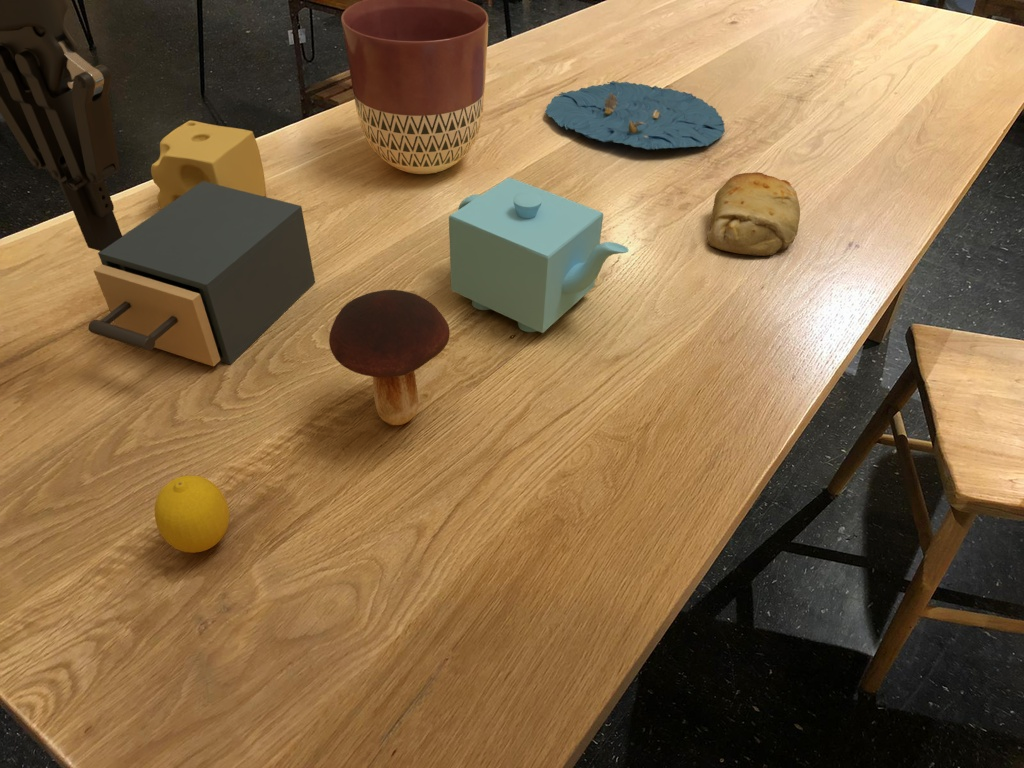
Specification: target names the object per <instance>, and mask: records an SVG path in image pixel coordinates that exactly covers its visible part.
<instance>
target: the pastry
mask: <svg viewBox="0 0 1024 768" xmlns="http://www.w3.org/2000/svg"><path fill="white" fill-rule="evenodd" d="M711 210H712V211H711V215H712V216H711V222H710V231H709V232H707V242H706V243H707V244H708V245H709V246H710V247H713V248H715V249H718V250H720V251H724V252H729V253H734V254H738V255H739V254H740V255H747V256H749V255H750V256H756V257H757V256H758V257H760V256H764V257H765V256H773V255H775V254H776V253H780V251H782V250H785V249H786V248H788V247H789V246H790V245H792V244H793V243H794V242H795V239H796V237H797V235H798V231H799V224H800V219H801V206H800V200H799V197H798V194H797V191H796V190H795V188H794V187H793V186H792V183H790V181H788V180H785V179H779V178H777V177H776V176H771V175H767V174H765V173H763V172H758V171H756V172H742V173H738V174H735V175H733V176H731V177H730V178H729V179H728V180H727V181H726V182H724V184H723V185H722V186H721V187H720V188H719V189H718V190H717V191H716V193H715V195H714V201H713V206H712V209H711Z"/></svg>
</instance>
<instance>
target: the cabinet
mask: <svg viewBox="0 0 1024 768" xmlns="http://www.w3.org/2000/svg"><path fill="white" fill-rule="evenodd" d="M97 254H98V258H99V259H100V262H101V264H102V265H106V266H109V267H112V268H116V269H119V270H120V267H119V265H122V266H125V267H129V268H132V269H135V270H139V271H142V272H146V273H149V274H152V275H156V276H159V277H162V278H166V279H169V280H173V281H176V282H179V283H183V284H186V285H189V286H193V287H196V288H200V289H202V291H203V294H204V297H205V301H206V304H207V307H208V310H209V314H210V317H211V320H212V323H213V327H214V330H215V333H216V336H217V340H218V343H219V346H220V348H219V347H217V350H218V353H219V356H220V359H221V360H220V361H219V363H220V362H221V363H224V364H226V365H229V366H231V365H232V364H233V363H234V362H235V361H236V360H237V359H238V358H239V357H241V356H242V355H243V353H244V352H245V351H247V349H249V348H250V347H251V346H252V345H253V344H254V343H255V342H256V341H257V340H258V339H259V338H260V337H261V336H262V335H263V334H264V333H266V331H267V330H268V329H269V328H270V327H271V326H272V325H273V324H274V323H275V322H277V320H279V318H281V317H282V316H283V314H285V313H286V312H287V311H288V309H290V308H291V307H293V305H294V304H295V303H296V302H297V301H298V300H299V299H300V298H301V297H302V296H304V294H305V293H306V292H307V291H308V290H309V289H311V287H312V286H313V285H314V284H316V279H315V274H314V268H313V263H312V258H311V252H310V246H309V241H308V236H307V231H306V224H305V219H304V213H303V207H302V205H300V204H295V203H292V202H288V201H283V200H279V199H275V198H272V197H267V196H265V197H264V196H260V195H256V194H252V193H248V192H244V191H240V190H236V189H232V188H228V187H224V186H220V185H216V184H212V183H208V182H204V181H202V182H201V183H199V184H198V185H196V186H195V187H193V188H192V189H190V190H189V191H188V192H186V193H185V194H183V195H182V196H180V197H179V198H177V199H176V200H174V201H173V202H171V203H170V204H169V205H167V206H166V207H164V208H163V209H161V210H160V209H159V210H158V211H157V212H155V213H154V214H153V215H151V216H150V217H148V218H147V219H145V220H144V221H142V222H141V223H139V224H138V225H136V226H135V227H134V228H132V229H130V230H129V231H128V232H126V233H124V234H122V237H121V238H120V239H118V240H117V241H115V242H114V243H112V244H111V245H110V246H108V247H107V248H105V249H104V250H102V251H98V252H97Z"/></svg>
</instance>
